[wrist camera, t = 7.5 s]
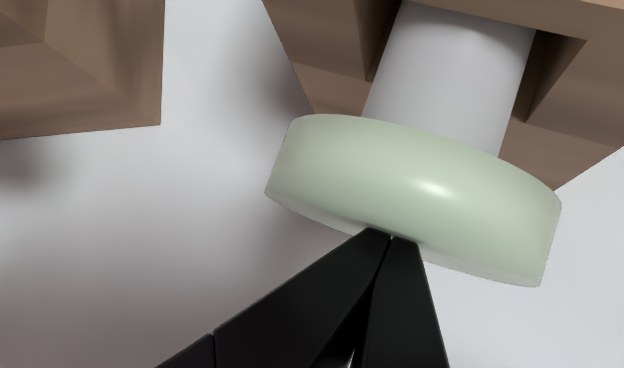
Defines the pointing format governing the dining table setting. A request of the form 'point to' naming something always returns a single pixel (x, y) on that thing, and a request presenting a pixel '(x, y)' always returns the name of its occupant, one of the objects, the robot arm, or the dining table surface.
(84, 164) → the dining table surface
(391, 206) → the button sage
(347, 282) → the robot arm
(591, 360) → the dining table surface
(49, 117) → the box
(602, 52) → the box middle
